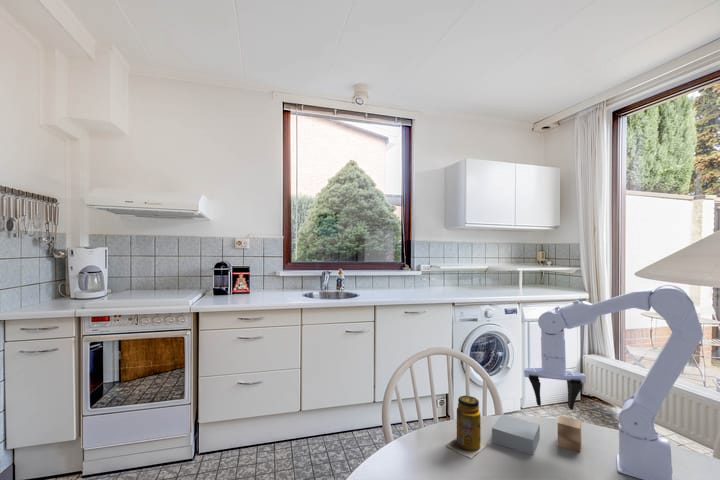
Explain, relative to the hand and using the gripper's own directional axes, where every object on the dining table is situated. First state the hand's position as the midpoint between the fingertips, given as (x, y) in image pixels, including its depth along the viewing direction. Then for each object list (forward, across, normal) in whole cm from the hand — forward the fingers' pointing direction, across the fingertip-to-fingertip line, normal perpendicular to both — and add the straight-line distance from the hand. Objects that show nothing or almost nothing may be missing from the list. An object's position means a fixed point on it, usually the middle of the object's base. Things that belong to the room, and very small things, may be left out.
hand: (554, 406), depth 92 cm
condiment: (+10, +23, +10) cm, 26 cm away
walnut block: (+10, -3, 0) cm, 10 cm away
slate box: (+10, +10, +2) cm, 14 cm away
